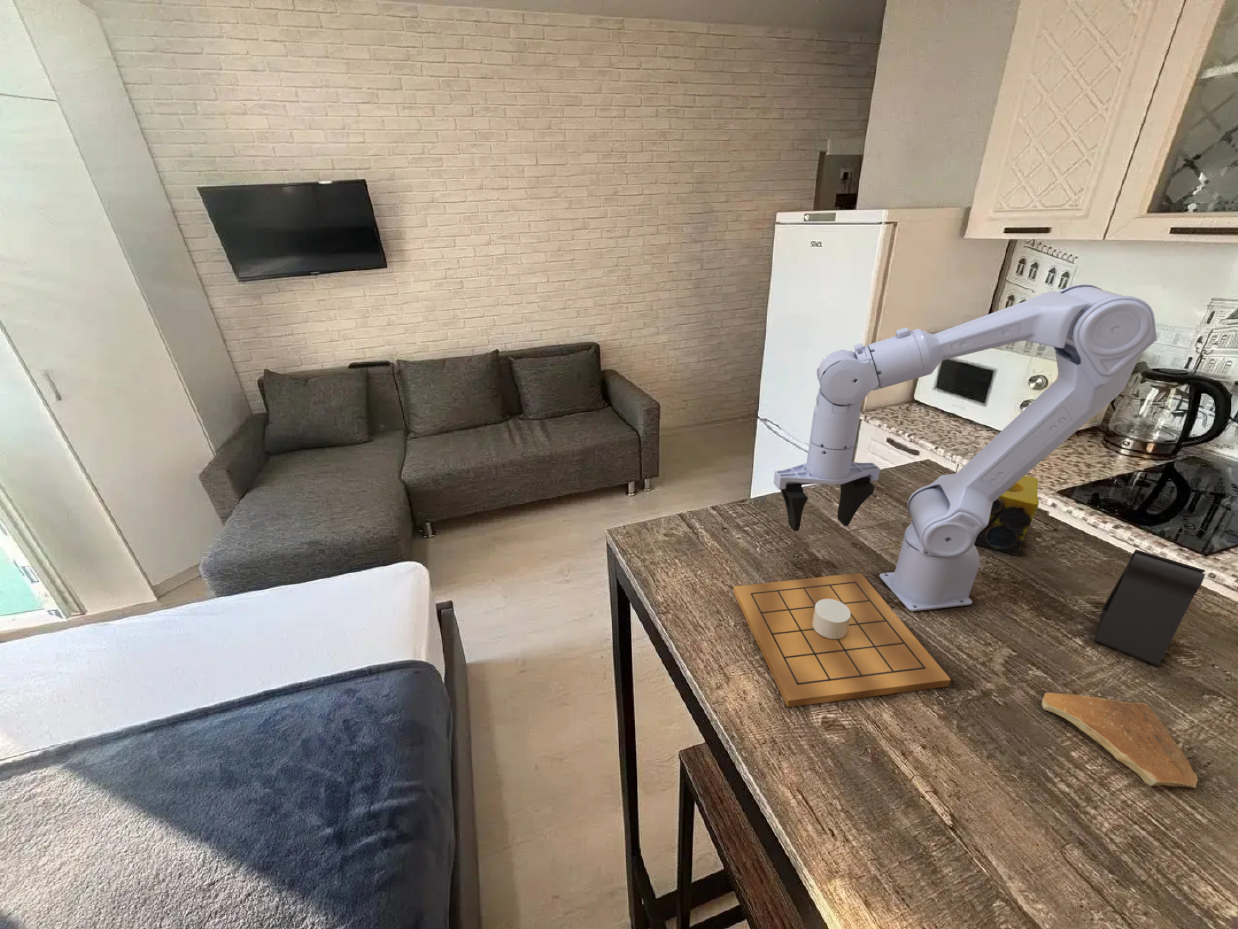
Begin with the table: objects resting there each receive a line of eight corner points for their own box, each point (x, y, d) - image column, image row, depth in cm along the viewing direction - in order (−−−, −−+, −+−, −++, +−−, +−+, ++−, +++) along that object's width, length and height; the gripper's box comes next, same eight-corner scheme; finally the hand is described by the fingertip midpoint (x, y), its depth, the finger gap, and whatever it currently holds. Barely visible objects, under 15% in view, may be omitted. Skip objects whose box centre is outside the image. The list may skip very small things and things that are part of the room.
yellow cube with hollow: (952, 510, 94) (967, 462, 90) (1020, 527, 89) (1039, 477, 84) (946, 537, 87) (961, 486, 82) (1018, 557, 81) (1039, 504, 77)
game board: (859, 578, 78) (860, 572, 78) (948, 686, 61) (951, 679, 60) (733, 592, 77) (733, 585, 76) (787, 707, 59) (788, 700, 58)
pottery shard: (1033, 699, 59) (1040, 684, 58) (1114, 696, 59) (1123, 681, 57) (1113, 792, 49) (1123, 776, 48) (1210, 789, 49) (1222, 773, 48)
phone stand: (1102, 606, 71) (1139, 535, 66) (1162, 628, 67) (1206, 555, 62) (1092, 641, 66) (1131, 567, 60) (1157, 668, 62) (1204, 591, 56)
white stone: (836, 613, 70) (840, 596, 69) (853, 637, 66) (857, 620, 65) (806, 617, 70) (809, 600, 68) (821, 641, 66) (824, 624, 65)
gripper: (866, 425, 73) (850, 506, 79) (769, 433, 72) (761, 514, 78) (895, 446, 67) (876, 531, 73) (790, 455, 66) (779, 541, 72)
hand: (818, 524), depth 75 cm, fingers open, 7 cm apart
